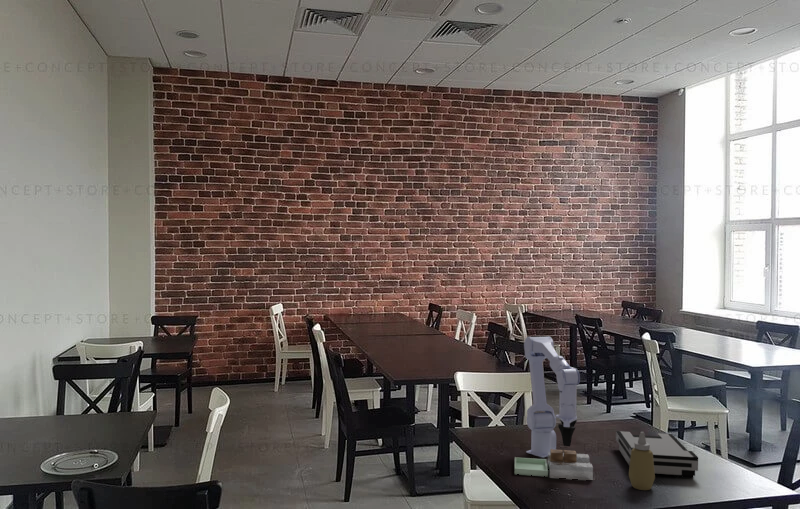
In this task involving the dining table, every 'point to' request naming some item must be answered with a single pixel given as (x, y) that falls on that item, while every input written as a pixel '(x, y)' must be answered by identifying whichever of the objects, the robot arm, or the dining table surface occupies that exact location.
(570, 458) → the chip
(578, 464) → the slot block
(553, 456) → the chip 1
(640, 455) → the squeeze bottle
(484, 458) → the dining table surface
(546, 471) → the tray
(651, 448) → the game console
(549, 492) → the dining table surface
